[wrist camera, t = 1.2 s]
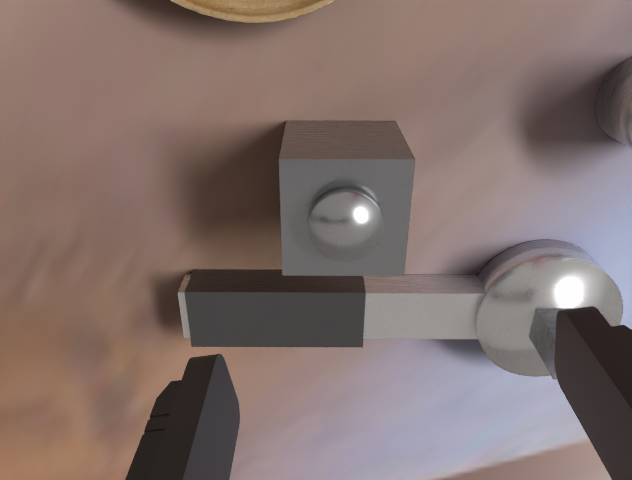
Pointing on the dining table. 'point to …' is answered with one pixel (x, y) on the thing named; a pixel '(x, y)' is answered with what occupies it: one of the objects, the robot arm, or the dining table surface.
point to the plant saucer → (253, 9)
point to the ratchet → (406, 306)
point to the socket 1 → (344, 198)
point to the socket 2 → (616, 104)
